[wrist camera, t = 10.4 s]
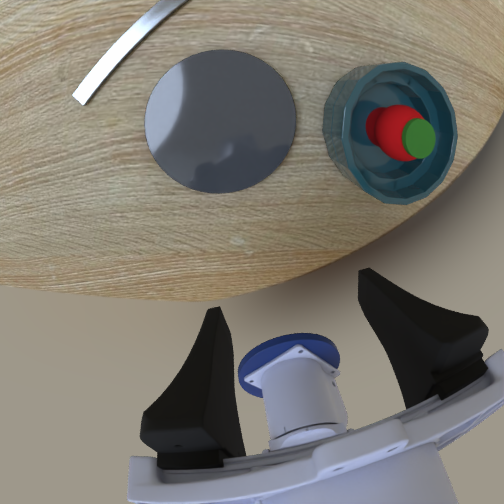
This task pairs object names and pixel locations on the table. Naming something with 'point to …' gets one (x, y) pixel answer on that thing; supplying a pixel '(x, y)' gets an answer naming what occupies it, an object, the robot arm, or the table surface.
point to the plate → (220, 121)
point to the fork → (124, 48)
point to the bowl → (371, 156)
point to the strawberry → (400, 132)
